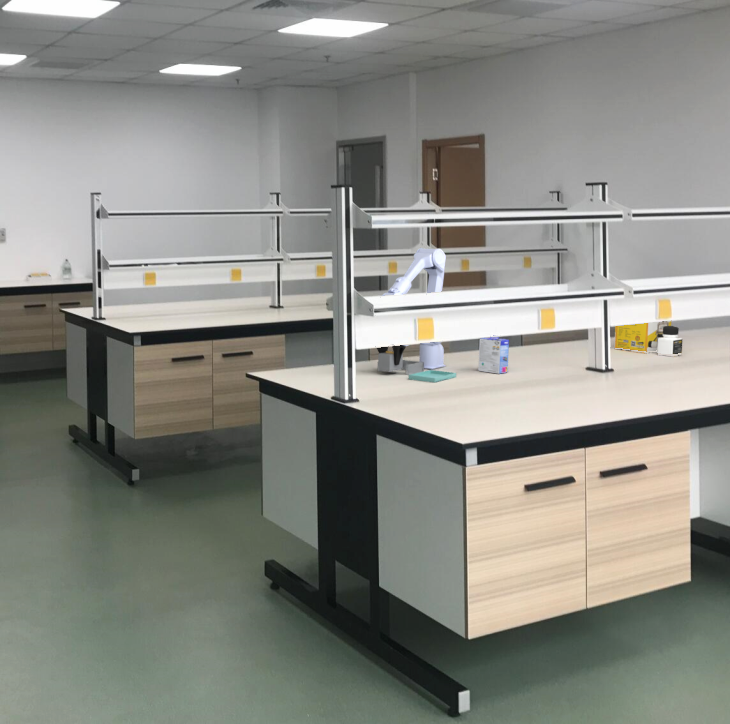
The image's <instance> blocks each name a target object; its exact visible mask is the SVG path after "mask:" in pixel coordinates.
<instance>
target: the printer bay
mask: <svg viewBox="0 0 730 724" xmlns="http://www.w3.org/2000/svg"><path fill="white" fill-rule="evenodd" d="M401 370H404V371H405V370H406V371H405V375H407V376H409V375H411V374H415V373H419V372H423V371H425V368H424V362H419V361H418V360H411V359H410V360H408V359H403V369H401ZM377 372H380V371H379V370H378V369H377Z"/></svg>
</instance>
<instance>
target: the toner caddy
mask: <svg viewBox="0 0 730 724" xmlns="http://www.w3.org/2000/svg"><path fill="white" fill-rule="evenodd" d="M403 353H404V352H403ZM403 353H402V356H401V359H400V363H399V365H394V352H393V351H392V350H391V351H390V350H388V351H386V352H385V353H379V352H378V354H377V355H378V357H377V371H378V370H379V371H378V372H389V373H391V372H396V371H400V370H402V369H403V360H404V357H403V356H404V354H403Z"/></svg>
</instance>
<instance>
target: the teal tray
mask: <svg viewBox="0 0 730 724" xmlns="http://www.w3.org/2000/svg"><path fill="white" fill-rule="evenodd" d="M454 378H457V372H450V371H445V370H436V369H428V370H424V371H423V372H419V373H415V374H411V375H408V380H414V381H419V382H426V383H428V382H429V383H438V382H442V381H446V380H450V379H454Z"/></svg>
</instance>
